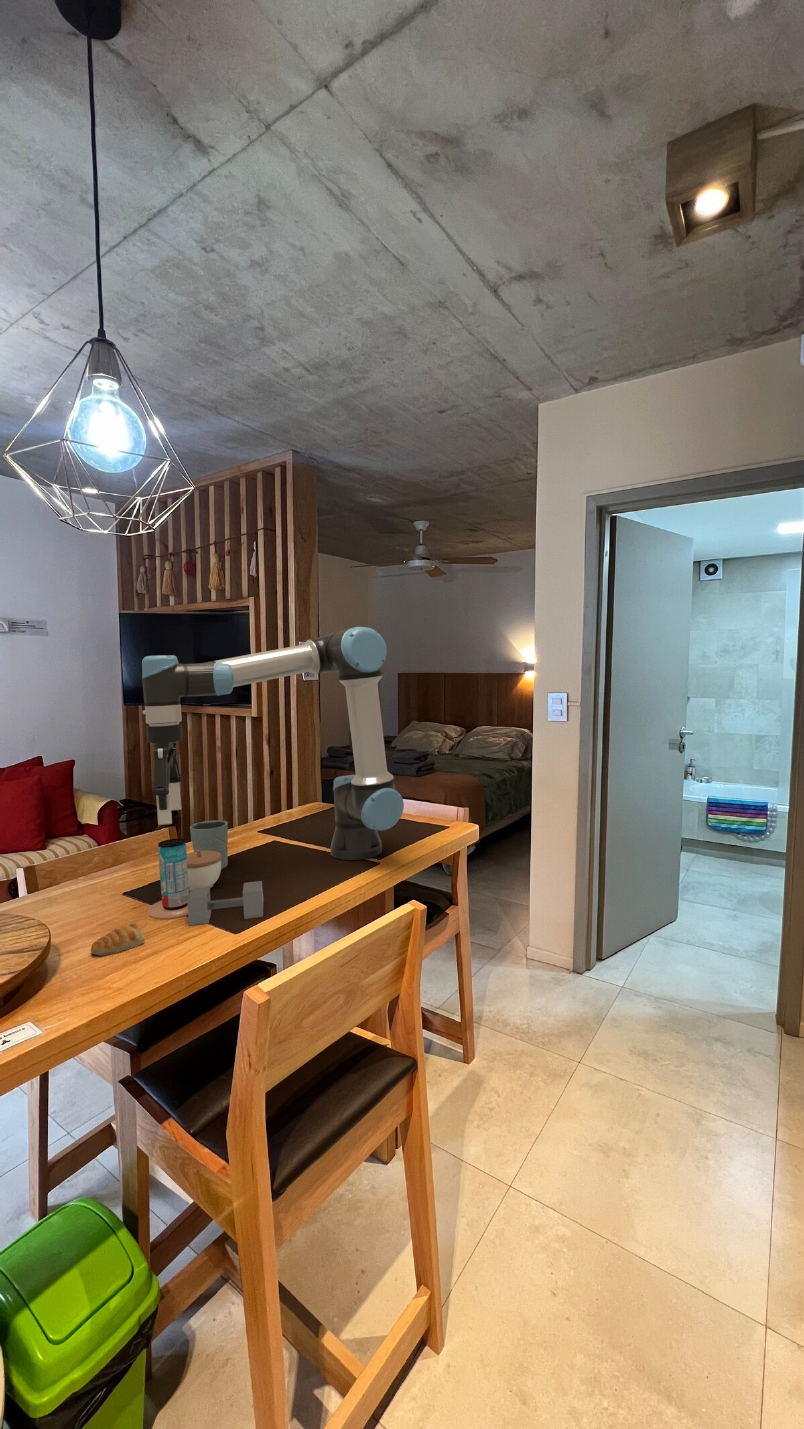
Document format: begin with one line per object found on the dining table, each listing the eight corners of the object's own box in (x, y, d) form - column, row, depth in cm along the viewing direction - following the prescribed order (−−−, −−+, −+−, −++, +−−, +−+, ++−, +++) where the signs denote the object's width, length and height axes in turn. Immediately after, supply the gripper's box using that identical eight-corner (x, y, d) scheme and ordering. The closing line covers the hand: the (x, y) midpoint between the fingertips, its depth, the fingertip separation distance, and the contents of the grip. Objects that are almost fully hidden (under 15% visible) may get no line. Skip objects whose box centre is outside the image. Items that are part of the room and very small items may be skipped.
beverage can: (177, 899, 140) (173, 837, 139) (195, 903, 137) (191, 840, 136) (156, 908, 135) (152, 844, 133) (174, 912, 132) (170, 847, 131)
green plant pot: (212, 874, 158) (209, 830, 157) (184, 870, 163) (181, 827, 162) (237, 862, 167) (235, 821, 167) (210, 858, 172) (208, 818, 171)
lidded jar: (168, 892, 146) (166, 855, 146) (198, 877, 156) (196, 842, 156) (203, 896, 142) (201, 859, 142) (231, 881, 152) (229, 846, 152)
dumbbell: (263, 901, 138) (262, 876, 138) (262, 916, 129) (261, 890, 129) (194, 909, 135) (192, 883, 135) (188, 925, 126) (187, 898, 126)
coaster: (206, 895, 143) (206, 893, 143) (200, 915, 131) (200, 912, 131) (153, 901, 140) (153, 899, 140) (142, 922, 129) (142, 919, 129)
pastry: (99, 962, 112) (97, 942, 111) (85, 952, 116) (83, 933, 116) (148, 943, 119) (146, 925, 118) (133, 935, 123) (131, 917, 123)
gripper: (156, 720, 144) (162, 805, 146) (133, 730, 120) (141, 832, 121) (189, 719, 146) (194, 803, 147) (172, 728, 121) (179, 828, 123)
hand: (170, 816), depth 134 cm, fingers open, 13 cm apart
